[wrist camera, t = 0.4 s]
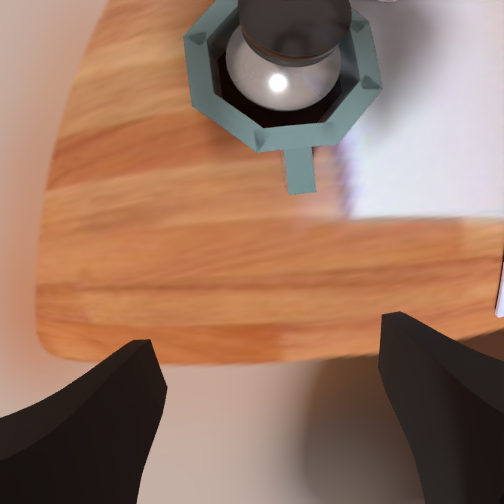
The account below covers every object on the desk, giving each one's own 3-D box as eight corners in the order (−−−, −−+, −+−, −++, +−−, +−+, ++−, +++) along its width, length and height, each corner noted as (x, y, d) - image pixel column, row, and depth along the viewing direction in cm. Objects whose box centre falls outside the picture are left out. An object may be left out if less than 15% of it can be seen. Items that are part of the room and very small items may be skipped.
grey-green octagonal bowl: (341, 6, 13) (357, -20, 10) (369, 178, 17) (393, 186, 13) (193, 20, 14) (179, -6, 11) (217, 195, 17) (206, 206, 14)
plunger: (327, 12, 11) (360, -52, 6) (345, 107, 13) (395, 84, 7) (221, 20, 12) (198, -44, 6) (234, 118, 13) (216, 95, 8)
